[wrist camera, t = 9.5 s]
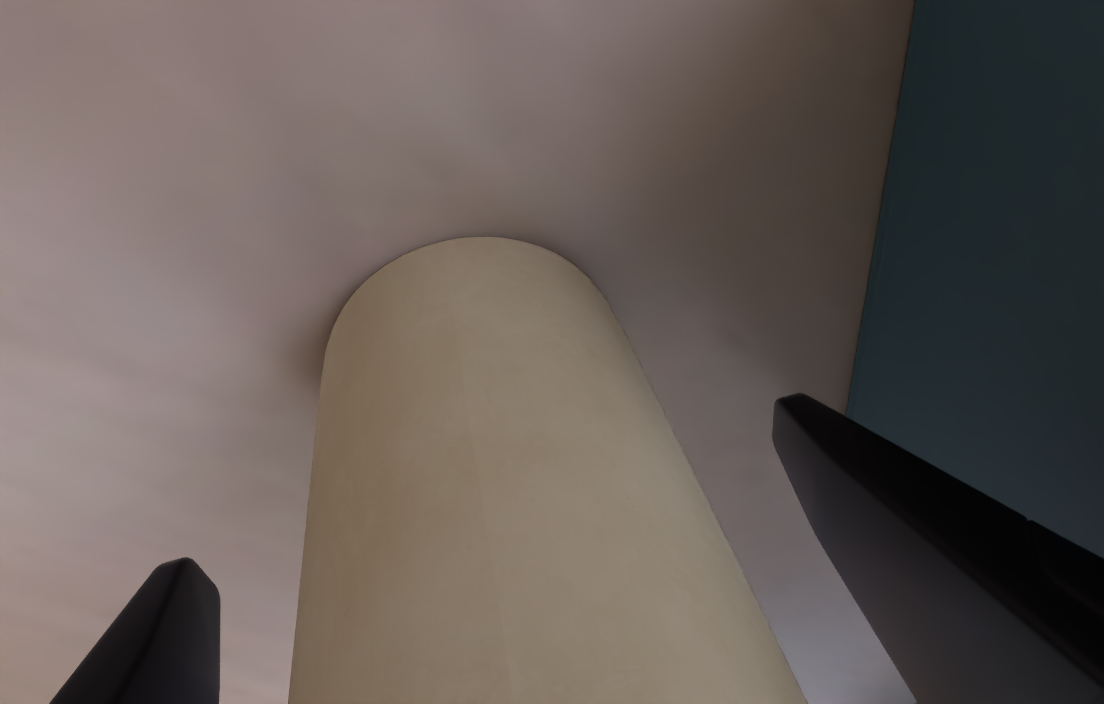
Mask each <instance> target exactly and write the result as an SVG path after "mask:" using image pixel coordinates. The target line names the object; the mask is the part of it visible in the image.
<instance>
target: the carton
mask: <svg viewBox="0 0 1104 704" xmlns="http://www.w3.org/2000/svg"><path fill="white" fill-rule="evenodd" d="M846 417H848V418H849V419H851V420H853V421H855V422H857V423H858V424H860V425H862V426H864V427H866V428H867V429H869V430H871V431H873V432H875V433H876V434H878V435H880V436H882V437H884V438H885V439H887V440H889V441H891V442H893V443H894V444H896V445H898V446H900V447H902V448H903V449H905V450H907V451H909V452H911V453H912V454H914V455H916V456H918V457H920V458H921V459H923V460H925V461H927V462H929V463H930V464H932V465H934V466H936V467H938V468H939V469H941V470H943V471H945V472H947V473H948V474H950V475H952V476H954V477H956V478H957V479H959V480H961V481H963V482H965V483H966V484H968V485H970V486H972V487H974V488H975V489H977V490H979V491H981V492H983V493H984V494H986V495H988V496H990V497H992V498H993V499H995V500H997V501H999V502H1001V503H1002V504H1004V505H1006V506H1008V507H1010V508H1011V509H1013V510H1015V511H1017V512H1019V513H1020V514H1022V515H1024V516H1025V517H1026V518H1027V521H1028V520H1033V521H1035V522H1037V523H1039V524H1041V525H1042V526H1044V527H1046V528H1048V529H1050V530H1051V531H1053V532H1055V533H1057V534H1059V535H1060V536H1062V537H1064V538H1066V539H1068V540H1070V541H1072V542H1074V543H1076V544H1077V545H1079V546H1081V547H1083V548H1085V549H1087V550H1089V551H1091V552H1093V553H1094V554H1096V555H1098V556H1100V557H1102V558H1104V0H916V5H915V10H914V16H913V22H912V28H911V34H910V40H909V46H908V52H907V58H906V64H905V69H904V75H903V81H902V87H901V93H900V99H899V105H898V111H897V117H896V122H895V128H894V134H893V140H892V146H891V152H890V158H889V164H888V170H887V176H886V181H885V187H884V193H883V199H882V205H881V211H880V217H879V223H878V229H877V234H876V240H875V246H874V252H873V258H872V264H871V270H870V276H869V282H868V288H867V293H866V299H865V305H864V311H863V317H862V323H861V329H860V335H859V341H858V347H857V352H856V358H855V364H854V370H853V376H852V382H851V388H850V394H849V400H848V405H847V411H846Z"/></svg>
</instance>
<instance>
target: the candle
mask: <svg viewBox="0 0 1104 704" xmlns="http://www.w3.org/2000/svg"><path fill="white" fill-rule="evenodd" d="M288 704H808V702H807V700H806V698H805V696H804V694H803V692H802V690H801V688H800V686H799V684H798V682H797V680H796V678H795V676H794V674H793V672H792V670H791V668H790V666H789V664H788V662H787V660H786V658H785V656H784V654H783V652H782V650H781V648H780V646H779V644H778V642H777V640H776V638H775V636H774V634H773V631H772V629H771V627H770V625H769V623H768V621H767V619H766V617H765V615H764V613H763V611H762V609H761V607H760V605H759V603H758V601H757V599H756V597H755V595H754V593H753V591H752V589H751V587H750V585H749V583H748V581H747V579H746V577H745V575H744V573H743V571H742V569H741V567H740V565H739V563H738V561H737V559H736V557H735V555H734V553H733V551H732V549H731V547H730V545H729V543H728V541H727V539H726V537H725V535H724V533H723V530H722V528H721V526H720V524H719V522H718V520H717V518H716V516H715V514H714V512H713V510H712V508H711V506H710V504H709V502H708V500H707V498H706V496H705V494H704V492H703V490H702V488H701V486H700V484H699V482H698V480H697V478H696V476H695V474H694V472H693V470H692V468H691V466H690V464H689V462H688V460H687V458H686V456H685V454H684V452H683V450H682V448H681V446H680V444H679V442H678V440H677V438H676V436H675V434H674V431H673V429H672V427H671V425H670V423H669V421H668V419H667V417H666V415H665V413H664V411H663V409H662V407H661V405H660V403H659V401H658V399H657V397H656V395H655V393H654V391H653V389H652V387H651V385H650V383H649V381H648V379H647V377H646V375H645V373H644V371H643V369H642V367H641V365H640V363H639V361H638V359H637V357H636V355H635V353H634V351H633V349H632V347H631V345H630V343H629V341H628V339H627V337H626V335H625V333H624V331H623V329H622V327H621V325H620V323H619V322H618V320H617V318H616V316H615V314H614V312H613V310H612V309H611V307H610V305H609V304H608V302H607V300H606V298H605V297H604V295H603V294H602V293H601V292H600V291H599V289H598V288H597V287H596V286H595V284H594V283H593V282H592V281H591V280H590V279H589V278H588V277H587V276H586V275H585V274H584V273H583V272H582V271H581V270H579V269H578V268H577V267H576V266H575V265H573V264H572V263H570V262H569V261H567V260H566V259H564V258H563V257H561V256H560V255H558V254H556V253H553V252H551V251H549V250H547V249H545V248H543V247H540V246H537V245H533V244H530V243H527V242H524V241H518V240H513V239H508V238H498V237H468V238H459V239H453V240H447V241H441V242H438V243H435V244H431V245H428V246H424V247H421V248H419V249H416V250H414V251H412V252H409V253H407V254H405V255H403V256H401V257H399V258H397V259H395V260H394V261H392V262H390V263H389V264H387V265H385V266H384V267H382V268H381V269H380V270H378V271H377V272H376V273H374V274H373V275H372V276H371V277H369V278H368V279H367V280H366V281H365V282H364V283H363V284H362V285H361V286H360V287H359V288H358V289H357V290H356V291H355V292H354V293H353V295H352V296H351V298H350V299H349V300H348V302H347V303H346V304H345V306H344V307H343V309H342V311H341V313H340V315H339V317H338V319H337V320H336V322H335V325H334V327H333V330H332V332H331V335H330V338H329V341H328V344H327V347H326V351H325V358H324V365H323V372H322V379H321V387H320V394H319V403H318V413H317V423H316V433H315V443H314V452H313V462H312V472H311V482H310V492H309V502H308V512H307V521H306V531H305V541H304V551H303V561H302V571H301V580H300V590H299V600H298V610H297V620H296V630H295V640H294V649H293V659H292V669H291V679H290V689H289V699H288Z"/></svg>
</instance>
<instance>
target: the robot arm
mask: <svg viewBox="0 0 1104 704" xmlns="http://www.w3.org/2000/svg"><path fill="white" fill-rule="evenodd" d="M772 439H773V444H774V447H775V449H776V452H777V454H778V456H779V458H780V460H781V463H782V465H783V467H784V469H785V471H786V473H787V475H788V478H789V480H790V482H791V484H792V486H793V488H794V491H795V493H796V495H797V497H798V499H799V501H800V503H801V506H802V508H803V510H804V512H805V514H806V516H807V519H808V521H809V523H810V525H811V527H812V529H813V531H814V533H815V535H816V536H817V538H818V540H819V542H820V543H821V545H822V547H823V549H824V550H825V552H826V553H827V555H828V557H829V558H830V560H831V562H832V563H833V565H834V567H835V568H836V570H837V571H838V573H839V575H840V576H841V578H842V580H843V581H844V583H845V585H846V586H847V588H848V589H849V591H850V593H851V594H852V596H853V598H854V599H855V601H856V603H857V604H858V606H859V607H860V609H861V611H862V612H863V614H864V616H865V617H866V619H867V621H868V622H869V624H870V625H871V627H872V629H873V630H874V632H875V634H876V635H877V637H878V639H879V640H880V642H881V643H882V645H883V647H884V648H885V650H886V652H887V653H888V655H889V657H890V658H891V660H892V661H893V663H894V665H895V666H896V668H897V670H898V671H899V673H900V675H901V676H902V678H903V679H904V681H905V683H906V684H907V686H908V688H909V689H910V691H911V693H912V694H913V696H914V697H915V699H916V701H917V702H918V704H1104V558H1102V557H1100V556H1098V555H1096V554H1094V553H1093V552H1091V551H1089V550H1087V549H1085V548H1083V547H1081V546H1079V545H1077V544H1076V543H1074V542H1072V541H1070V540H1068V539H1066V538H1064V537H1062V536H1060V535H1059V534H1057V533H1055V532H1053V531H1051V530H1050V529H1048V528H1046V527H1044V526H1042V525H1041V524H1039V523H1037V522H1035V521H1033V520H1028V521H1027V518H1026V517H1025V516H1024V515H1022V514H1020V513H1019V512H1017V511H1015V510H1013V509H1011V508H1010V507H1008V506H1006V505H1004V504H1002V503H1001V502H999V501H997V500H995V499H993V498H992V497H990V496H988V495H986V494H984V493H983V492H981V491H979V490H977V489H975V488H974V487H972V486H970V485H968V484H966V483H965V482H963V481H961V480H959V479H957V478H956V477H954V476H952V475H950V474H948V473H947V472H945V471H943V470H941V469H939V468H938V467H936V466H934V465H932V464H930V463H929V462H927V461H925V460H923V459H921V458H920V457H918V456H916V455H914V454H912V453H911V452H909V451H907V450H905V449H903V448H902V447H900V446H898V445H896V444H894V443H893V442H891V441H889V440H887V439H885V438H884V437H882V436H880V435H878V434H876V433H875V432H873V431H871V430H869V429H867V428H866V427H864V426H862V425H860V424H858V423H857V422H855V421H853V420H851V419H849V418H848V417H846V416H844V415H842V414H840V413H839V412H837V411H835V410H833V409H831V408H830V407H828V406H826V405H824V404H822V403H821V402H819V401H817V400H815V399H813V398H812V397H810V396H808V395H806V394H803V393H796V394H792V395H789V396H785V397H781V398H779V399H777V400H776V402H775V405H774V415H773V429H772ZM219 691H220V595H219V592H218V589H217V587H216V585H215V584H214V583H213V582H212V581H211V579H210V578H209V577H208V576H207V575H206V574H205V573H204V571H203V570H202V569H201V568H200V567H199V566H198V564H197V563H196V562H195V561H194V560H193V559H190V558H188V557H186V558H181V559H177V560H173V561H169V562H166V563H163V564H161V565H159V566H158V567H157V568H156V569H155V570H154V571H153V572H152V573H151V575H150V576H149V577H148V578H147V580H146V581H145V582H144V583H143V585H142V586H141V587H140V589H139V590H138V591H137V592H136V594H135V595H134V596H133V597H132V599H131V600H130V601H129V603H128V604H127V605H126V606H125V608H124V609H123V610H122V611H121V613H120V614H119V615H118V617H117V618H116V619H115V620H114V622H113V623H112V624H111V625H110V627H109V628H108V629H107V631H106V632H105V633H104V634H103V636H102V637H101V638H100V639H99V641H98V642H97V643H96V645H95V646H94V647H93V648H92V650H91V651H90V652H89V653H88V655H87V656H86V657H85V659H84V660H83V661H82V662H81V664H80V665H79V666H78V667H77V669H76V670H75V671H74V673H73V674H72V675H71V676H70V678H69V679H68V680H67V681H66V683H65V684H64V685H63V687H62V688H61V689H60V690H59V692H58V693H57V694H56V695H55V697H54V698H53V699H52V701H51V702H50V703H49V704H219Z"/></svg>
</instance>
